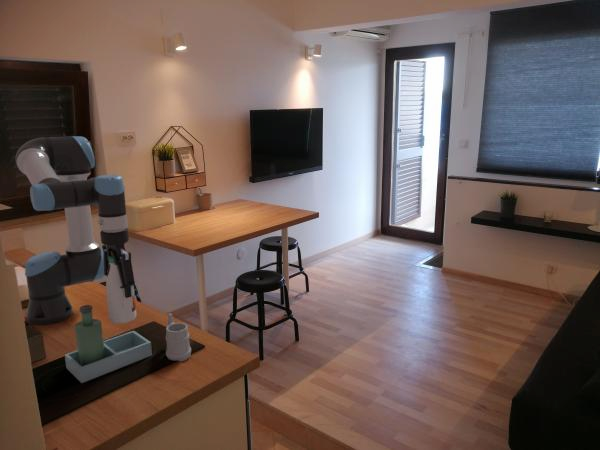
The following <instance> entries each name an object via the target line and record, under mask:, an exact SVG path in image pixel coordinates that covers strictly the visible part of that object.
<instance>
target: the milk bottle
mask: <svg viewBox="0 0 600 450" xmlns="http://www.w3.org/2000/svg"><path fill="white" fill-rule="evenodd" d="M120 261H121V260H119V261H118V262H120ZM109 264H110V271H109V274H108V277H107V276H106V280H105V281H106V282H105V288H106V289H105V290H106V291H105V292H106V301H107V310H108V318H109V321H110V322H111V323H112V324H117V325H120V324H126V323H130V322H132V321H134V320H136V317H137V307H136V296H135V295H136V293H135V287H134V286H135V285H133V286H131V291H132V302H133V306H131V307H128V308H125V309H124V308H123V303H122V293H121V288H120V287H121V286H122V283H121V279H120V275H119V272H118V268H117V265H115V263H114V259H113V257H112V256H109Z"/></svg>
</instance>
